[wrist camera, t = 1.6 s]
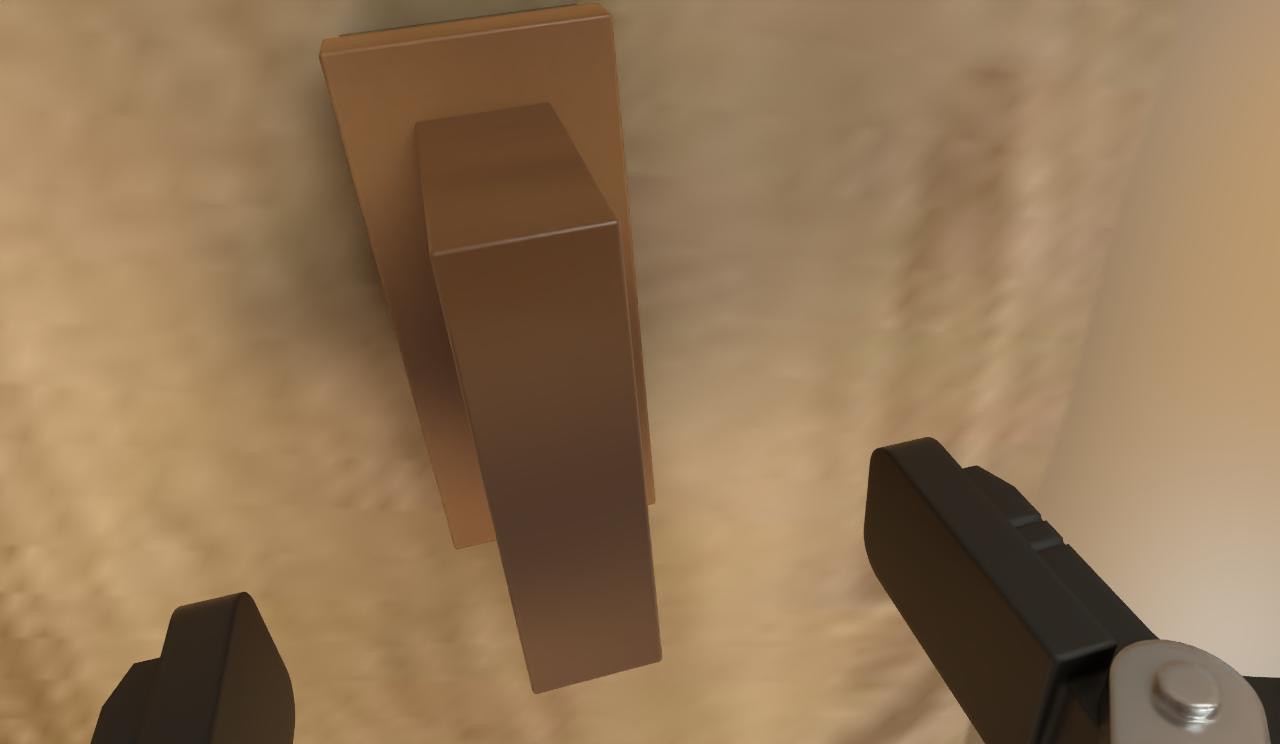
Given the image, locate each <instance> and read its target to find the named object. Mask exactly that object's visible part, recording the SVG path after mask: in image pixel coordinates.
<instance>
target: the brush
mask: <svg viewBox="0 0 1280 744" xmlns="http://www.w3.org/2000/svg"><path fill="white" fill-rule="evenodd" d="M319 59H320V63H321V66H322V70H323V73H324V77H325V81H326V84H327V88H328V91H329V95H330V99H331V102H332V106H333V109H334V113H335V117H336V120H337V124H338V128H339V131H340V135H341V138H342V142H343V146H344V149H345V153H346V156H347V160H348V164H349V167H350V171H351V174H352V178H353V182H354V185H355V189H356V193H357V196H358V200H359V203H360V207H361V211H362V214H363V218H364V221H365V225H366V229H367V232H368V236H369V240H370V243H371V247H372V250H373V254H374V258H375V261H376V265H377V268H378V272H379V276H380V279H381V283H382V286H383V290H384V294H385V297H386V301H387V305H388V308H389V312H390V315H391V319H392V323H393V326H394V330H395V333H396V337H397V341H398V344H399V348H400V352H401V355H402V359H403V362H404V366H405V370H406V373H407V377H408V380H409V384H410V388H411V391H412V395H413V398H414V402H415V406H416V409H417V413H418V417H419V420H420V424H421V427H422V431H423V435H424V438H425V442H426V445H427V449H428V453H429V456H430V460H431V463H432V467H433V471H434V474H435V478H436V482H437V485H438V489H439V492H440V496H441V500H442V503H443V507H444V510H445V514H446V518H447V521H448V525H449V529H450V532H451V536H452V539H453V543H454V547H455V548H456V549H461V548H465V547H469V546H474V545H478V544H482V543H487V542H491V541H495V540H497V544H498V548H499V552H500V556H501V561H502V565H503V569H504V573H505V577H506V582H507V586H508V590H509V594H510V598H511V603H512V607H513V611H514V615H515V620H516V624H517V628H518V632H519V636H520V641H521V645H522V649H523V653H524V658H525V662H526V666H527V670H528V674H529V679H530V683H531V687H532V691H533V692H534V693H535V694H538V693H542V692H546V691H550V690H553V689H557V688H561V687H565V686H569V685H572V684H576V683H580V682H584V681H588V680H591V679H595V678H599V677H603V676H606V675H610V674H614V673H618V672H622V671H625V670H629V669H633V668H637V667H641V666H644V665H648V664H652V663H656V662H659V661H661V660H662V649H661V639H660V629H659V618H658V608H657V598H656V588H655V577H654V567H653V557H652V546H651V536H650V526H649V515H648V505H650V504H654V503H655V490H654V478H653V467H652V456H651V445H650V434H649V423H648V411H647V400H646V389H645V378H644V367H643V356H642V345H641V333H640V322H639V311H638V300H637V289H636V278H635V266H634V255H633V244H632V233H631V222H630V211H629V199H628V188H627V177H626V166H625V155H624V144H623V133H622V121H621V110H620V99H619V88H618V77H617V66H616V54H615V43H614V32H613V21H612V16H611V14H610V13H609V12H608V11H607V10H606V9H605V8H603V7H602V6H601V5H600V4H598V3H592V4H585V5H578V4H570V5H563V6H555V7H548V8H540V9H533V10H525V11H518V12H510V13H503V14H495V15H488V16H480V17H473V18H465V19H458V20H450V21H443V22H435V23H428V24H420V25H413V26H405V27H398V28H390V29H383V30H375V31H368V32H360V33H353V34H345V35H341V36H339V37H338V38H330V39H325V40H323V41H322V45H321V49H320V53H319Z"/></svg>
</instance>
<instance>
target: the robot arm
mask: <svg viewBox="0 0 1280 744" xmlns="http://www.w3.org/2000/svg"><path fill="white" fill-rule="evenodd" d="M864 542H865V548H866V552H867V555H868V559H869V562H870V564H871V567H872V569H873V571H874V573H875V575H876V577H877V578H878V580H879V581H880V583H881V584H882V586H883V587H884V589H885V591H886V592H887V594H888V595H889V597H890V598H891V600H892V601H893V603H894V604H895V606H896V607H897V609H898V611H899V612H900V614H901V615H902V617H903V618H904V620H905V621H906V623H907V624H908V626H909V627H910V629H911V630H912V632H913V634H914V635H915V637H916V638H917V640H918V641H919V643H920V644H921V646H922V647H923V649H924V650H925V652H926V654H927V655H928V657H929V658H930V660H931V661H932V663H933V664H934V666H935V667H936V669H937V670H938V672H939V673H940V675H941V677H942V678H943V680H944V681H945V683H946V684H947V686H948V687H949V689H950V690H951V692H952V693H953V695H954V697H955V698H956V700H957V701H958V703H959V704H960V706H961V707H962V709H963V710H964V712H965V713H966V715H967V716H968V718H969V720H970V721H971V723H972V724H973V726H974V727H975V729H976V730H977V732H978V733H979V735H980V736H981V738H982V739H983V741H984V743H985V744H1280V678H1269V677H1249V676H1242V675H1240V674H1239V673H1238V672H1237V671H1236V670H1234V669H1233V668H1232V667H1231V666H1230V665H1228V664H1227V663H1225V662H1224V661H1222V660H1221V659H1219V658H1217V657H1215V656H1214V655H1212V654H1210V653H1208V652H1206V651H1204V650H1201V649H1199V648H1196V647H1194V646H1191V645H1187V644H1184V643H1181V642H1175V641H1169V640H1160V639H1159V638H1158V637H1157V636H1155V634H1153V633H1152V632H1151V631H1150V630H1149V629H1148V628H1147V627H1146V626H1145V624H1144V623H1143V622H1142V621H1141V620H1140V619H1139V618H1138V617H1137V616H1136V615H1135V614H1134V613H1133V612H1132V611H1131V610H1130V609H1129V607H1128V606H1127V605H1126V604H1125V603H1124V602H1123V601H1122V600H1121V599H1120V598H1119V597H1118V596H1117V595H1116V594H1115V593H1114V592H1113V591H1112V589H1111V588H1110V587H1109V586H1108V585H1107V584H1106V583H1105V582H1104V581H1103V580H1102V579H1101V578H1100V577H1099V576H1098V575H1097V574H1096V573H1095V572H1094V570H1093V569H1092V568H1091V567H1090V566H1089V565H1088V564H1087V563H1086V562H1085V561H1084V560H1083V559H1082V558H1081V557H1080V556H1079V555H1078V554H1077V553H1076V551H1075V550H1074V549H1073V548H1072V547H1071V546H1070V545H1069V544H1067V545H1065V544H1064V542H1063V538H1062V537H1061V536H1060V534H1059V533H1058V532H1057V531H1056V530H1055V529H1054V528H1053V527H1052V526H1051V525H1050V524H1049V523H1048V522H1047V521H1043V520H1042V519H1041V515H1040V513H1039V512H1038V511H1037V510H1036V509H1035V508H1034V507H1033V506H1032V505H1031V504H1030V503H1029V502H1028V501H1027V500H1026V498H1025V497H1024V496H1023V495H1022V494H1021V493H1020V492H1019V491H1018V490H1017V489H1016V488H1015V487H1014V486H1012V485H1011V484H1009V483H1007V482H1005V481H1004V480H1002V479H1000V478H998V477H997V476H995V475H993V474H991V473H990V472H988V471H986V470H984V469H983V468H981V467H979V466H977V465H976V466H972V467H968V468H964V469H962V468H961V466H960V465H959V464H958V463H957V462H956V461H955V460H954V459H953V457H952V456H951V455H950V454H949V453H948V452H947V451H946V450H945V448H944V447H943V446H942V445H941V444H940V443H939V442H938V441H937V440H935V439H934V438H931V437H925V438H920V439H916V440H912V441H907V442H903V443H899V444H894V445H890V446H886V447H881V448H877V449H875V450H874V451H873V453H872V456H871V460H870V468H869V479H868V490H867V501H866V511H865V522H864ZM294 728H295V704H294V695H293V689H292V684H291V681H290V677H289V674H288V671H287V669H286V667H285V665H284V663H283V661H282V658H281V656H280V654H279V652H278V650H277V648H276V646H275V644H274V642H273V640H272V637H271V635H270V633H269V631H268V629H267V627H266V625H265V623H264V621H263V619H262V617H261V614H260V612H259V610H258V608H257V606H256V604H255V602H254V600H253V598H252V597H251V596H250V595H249V594H248V593H246V592H241V593H236V594H232V595H228V596H223V597H219V598H215V599H210V600H206V601H202V602H197V603H193V604H188V605H184V606H180V607H178V608H176V610H175V611H174V612H173V614H172V617H171V620H170V623H169V627H168V630H167V634H166V638H165V642H164V645H163V649H162V653H161V657H160V658H156V659H152V660H147V661H143V662H139V663H135V664H133V665H132V667H131V668H130V670H129V671H128V672H127V674H126V675H125V676H124V678H123V679H122V681H121V682H120V683H119V685H118V686H117V687H116V689H115V690H114V691H113V693H112V694H111V696H110V697H109V698H108V700H107V701H106V702H105V704H104V705H103V706H102V709H101V712H100V715H99V719H98V722H97V725H96V728H95V731H94V734H93V738H92V741H91V744H293V738H294Z"/></svg>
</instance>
